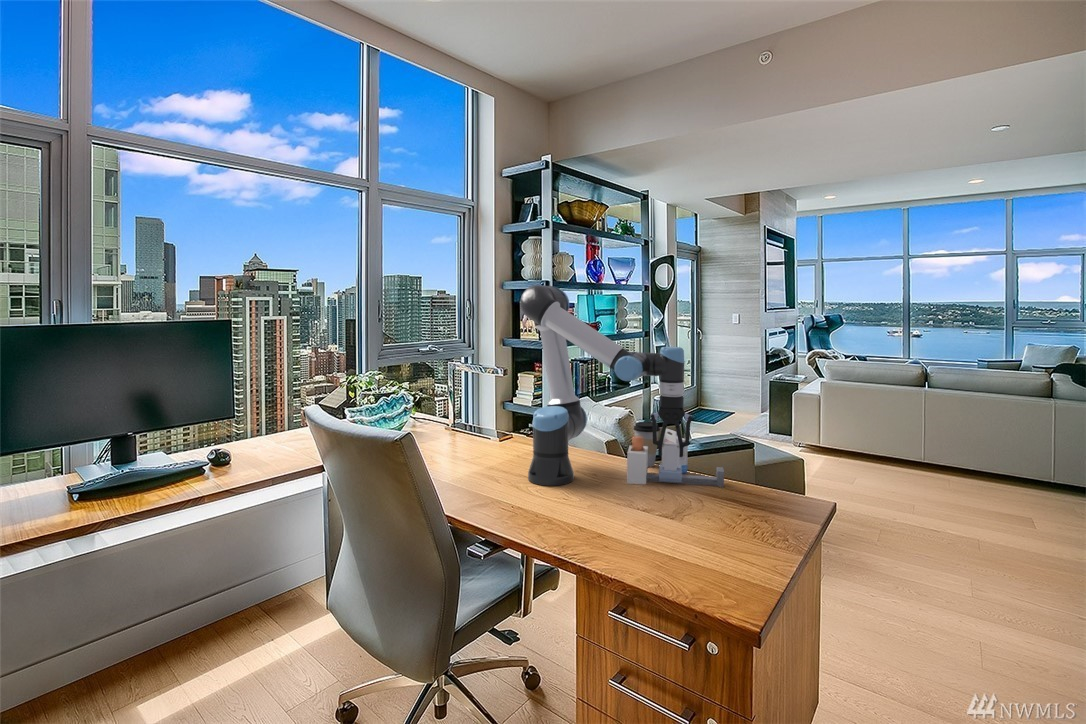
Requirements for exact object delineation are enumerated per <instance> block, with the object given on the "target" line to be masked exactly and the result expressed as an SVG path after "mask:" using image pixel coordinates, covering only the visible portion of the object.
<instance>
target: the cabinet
mask: <svg viewBox="0 0 1086 724" xmlns="http://www.w3.org/2000/svg"><path fill="white" fill-rule="evenodd" d="M628 446H629V447H628V450H627V452H626V453H627V454H626V455H627V458H626V459H627V463H626V465H627V468H626V470H627V471H626V483H627V484H630V485H631V484H633V485H635V484H636V485H647V481H646V479H647V473H648V468H649V467H648V446H643V450H642V451H634V450H632V445H631V444H630V445H628Z"/></svg>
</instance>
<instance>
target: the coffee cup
mask: <svg viewBox="0 0 1086 724" xmlns="http://www.w3.org/2000/svg"><path fill="white" fill-rule="evenodd" d="M656 428H657V440H658V441H659V432H660V431H661V427H660V426H659V424H658V423H657V422H656ZM633 430H634V432H635V433H634V434H635V436H640V437H643V438H644V439H643V446H648V468H649V467H651V468H652V467H654V466H655V464H656V455H657V452H658V451H657V450H658V445H655V444H653V429H652V421H638V422H635V425H634V426H633Z"/></svg>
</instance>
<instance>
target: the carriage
mask: <svg viewBox="0 0 1086 724" xmlns="http://www.w3.org/2000/svg"><path fill="white" fill-rule="evenodd" d="M658 467H659V469H658V473H659V481H664V482H663V483H666V482H679V483H678V484H681V481H682V475H683V473H682V468H681V465H679V468H677V443H665V445H664V467H662V463H659V466H658Z"/></svg>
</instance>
